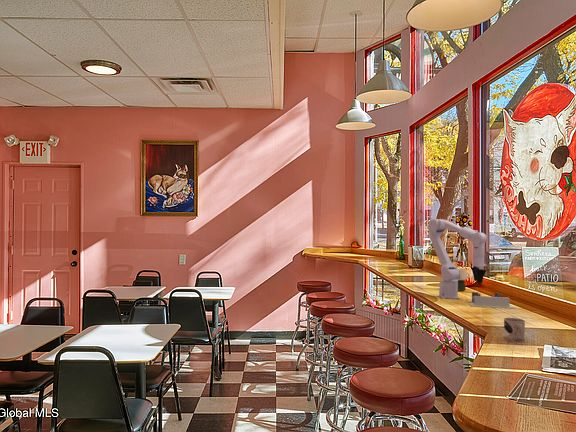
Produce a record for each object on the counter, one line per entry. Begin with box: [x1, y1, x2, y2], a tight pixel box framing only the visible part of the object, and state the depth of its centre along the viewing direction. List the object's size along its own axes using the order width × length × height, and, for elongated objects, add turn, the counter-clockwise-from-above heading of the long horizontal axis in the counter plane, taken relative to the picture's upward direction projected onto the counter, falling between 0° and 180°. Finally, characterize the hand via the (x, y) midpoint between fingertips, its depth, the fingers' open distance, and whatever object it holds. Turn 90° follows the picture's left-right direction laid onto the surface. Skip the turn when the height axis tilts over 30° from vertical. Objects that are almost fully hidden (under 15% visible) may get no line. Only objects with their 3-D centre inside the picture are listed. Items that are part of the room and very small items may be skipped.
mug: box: [503, 317, 526, 342], centre depth 165 cm, size 10×7×7 cm
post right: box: [493, 292, 505, 297], centre depth 237 cm, size 3×6×5 cm, turn 169°
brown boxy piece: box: [471, 291, 482, 303], centre depth 239 cm, size 3×6×5 cm, turn 169°
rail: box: [474, 295, 511, 307], centre depth 230 cm, size 16×3×4 cm, turn 79°
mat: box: [468, 302, 516, 310], centre depth 230 cm, size 20×7×1 cm, turn 79°
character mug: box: [457, 268, 471, 291], centre depth 282 cm, size 11×7×13 cm, turn 80°
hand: (478, 281), depth 242 cm, fingers open, 7 cm apart
